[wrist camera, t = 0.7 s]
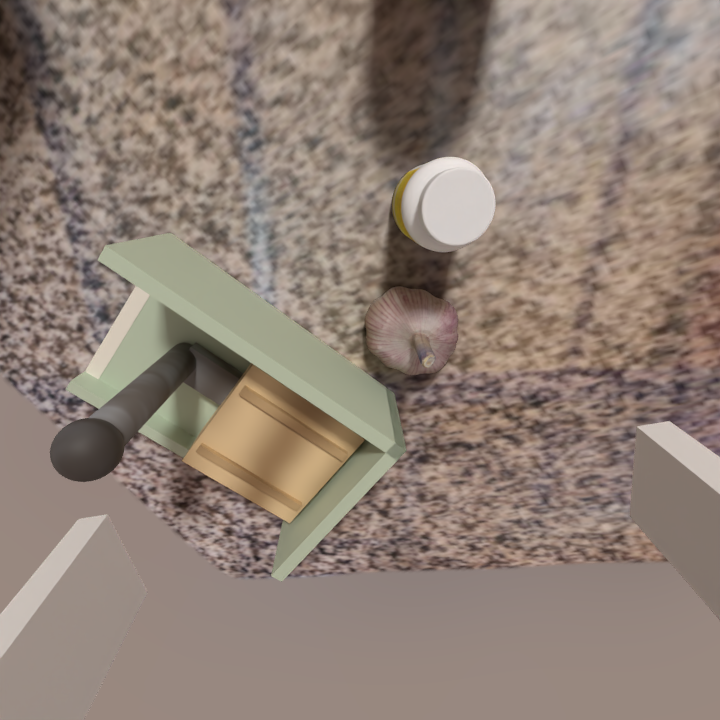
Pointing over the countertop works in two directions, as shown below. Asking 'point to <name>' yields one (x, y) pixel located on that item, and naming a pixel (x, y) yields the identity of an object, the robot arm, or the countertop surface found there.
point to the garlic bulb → (411, 330)
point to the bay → (239, 349)
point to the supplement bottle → (443, 204)
